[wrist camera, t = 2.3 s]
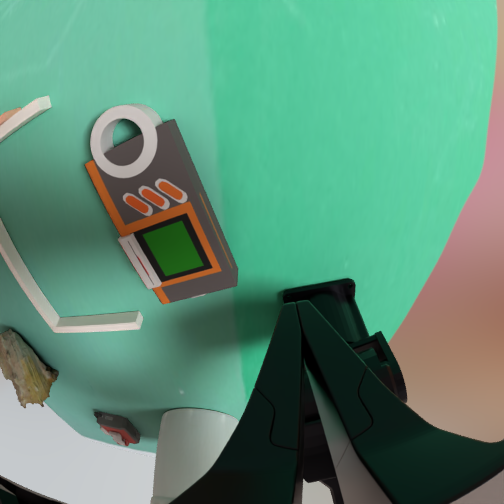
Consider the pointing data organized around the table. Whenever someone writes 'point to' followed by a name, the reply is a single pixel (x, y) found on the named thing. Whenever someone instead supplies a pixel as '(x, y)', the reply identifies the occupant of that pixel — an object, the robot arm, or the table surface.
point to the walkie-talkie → (118, 428)
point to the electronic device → (160, 206)
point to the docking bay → (3, 244)
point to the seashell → (25, 369)
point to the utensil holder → (188, 449)
